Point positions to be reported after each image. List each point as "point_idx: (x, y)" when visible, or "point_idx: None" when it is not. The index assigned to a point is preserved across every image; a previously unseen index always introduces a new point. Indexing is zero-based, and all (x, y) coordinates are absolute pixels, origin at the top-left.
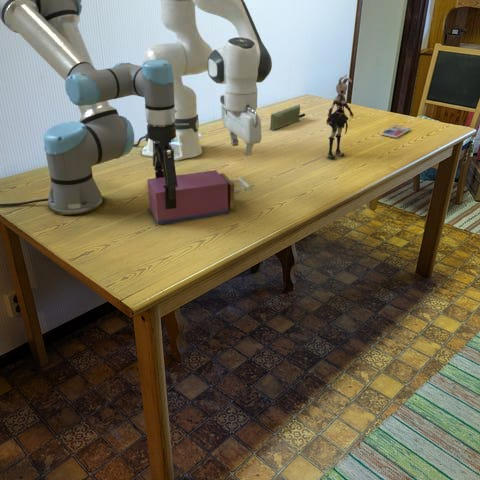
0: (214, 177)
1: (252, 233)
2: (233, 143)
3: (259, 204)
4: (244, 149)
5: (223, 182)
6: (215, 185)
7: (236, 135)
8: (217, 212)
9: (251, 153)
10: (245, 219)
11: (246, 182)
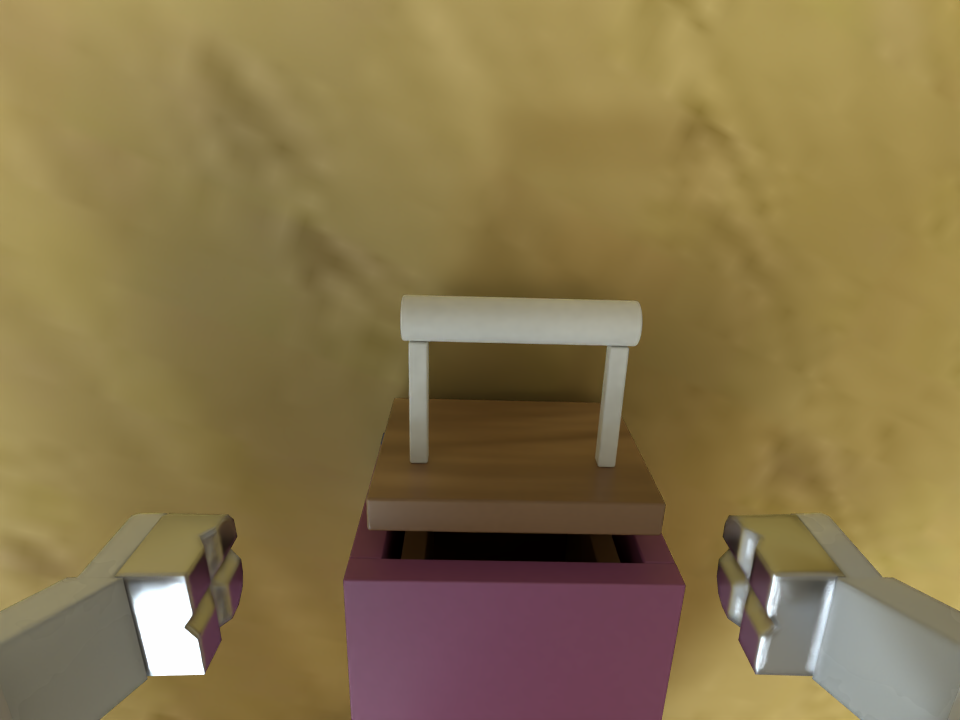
0: (517, 641)
1: (935, 403)
2: (221, 612)
3: (588, 178)
4: (786, 669)
5: (658, 613)
6: (667, 671)
7: (43, 630)
8: None
9: (834, 523)
10: (752, 370)
11: (536, 313)
